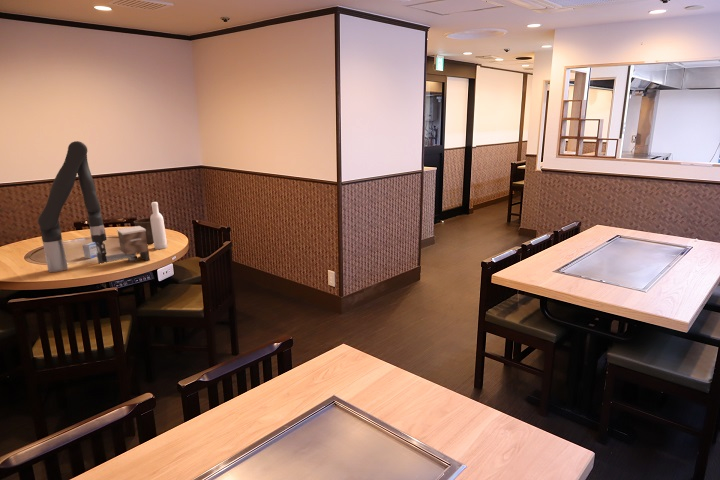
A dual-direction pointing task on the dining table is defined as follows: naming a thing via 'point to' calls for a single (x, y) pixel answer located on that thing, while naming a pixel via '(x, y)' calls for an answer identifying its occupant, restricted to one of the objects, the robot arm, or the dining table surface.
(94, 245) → the medicine box
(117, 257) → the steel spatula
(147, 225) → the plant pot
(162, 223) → the bottle
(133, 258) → the steel token
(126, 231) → the walnut cabinet
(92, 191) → the robot arm
